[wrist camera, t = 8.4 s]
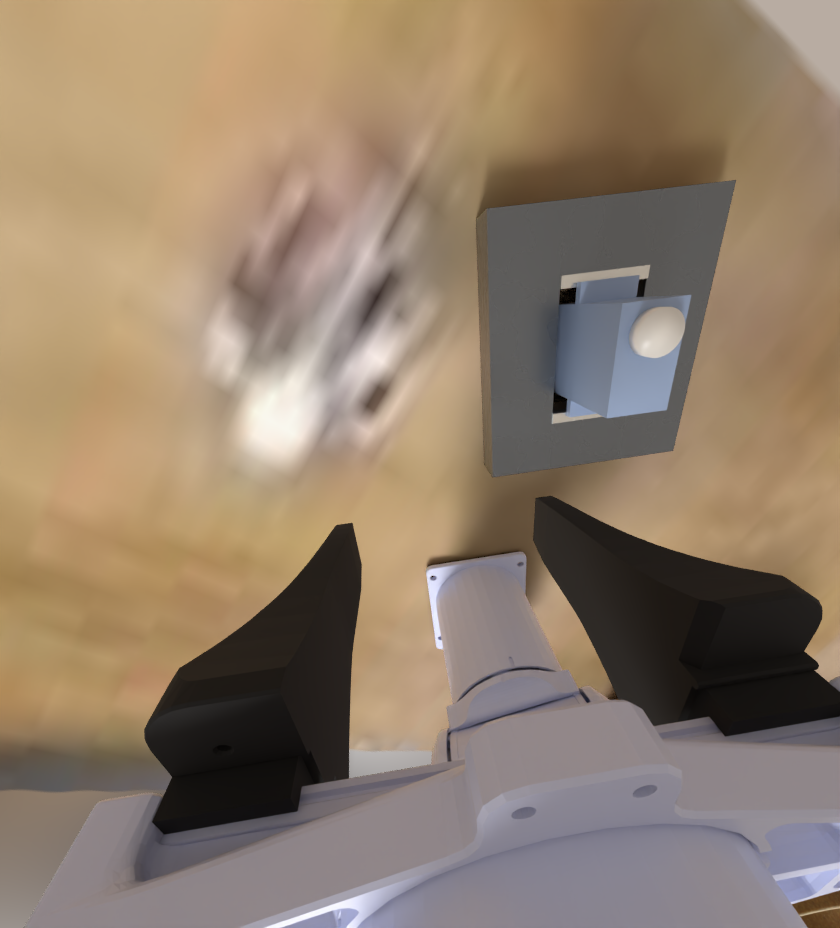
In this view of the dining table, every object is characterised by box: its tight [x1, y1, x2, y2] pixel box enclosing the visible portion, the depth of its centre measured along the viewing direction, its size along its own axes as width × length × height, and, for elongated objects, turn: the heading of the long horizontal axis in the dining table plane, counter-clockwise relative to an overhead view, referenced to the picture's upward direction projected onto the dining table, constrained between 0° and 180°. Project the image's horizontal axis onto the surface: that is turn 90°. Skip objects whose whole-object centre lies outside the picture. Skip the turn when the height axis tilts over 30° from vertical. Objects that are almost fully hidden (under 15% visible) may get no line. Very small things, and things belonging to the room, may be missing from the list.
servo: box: [554, 275, 691, 418], centre depth 17 cm, size 7×3×7 cm, turn 6°
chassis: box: [476, 180, 736, 477], centre depth 19 cm, size 14×12×2 cm
